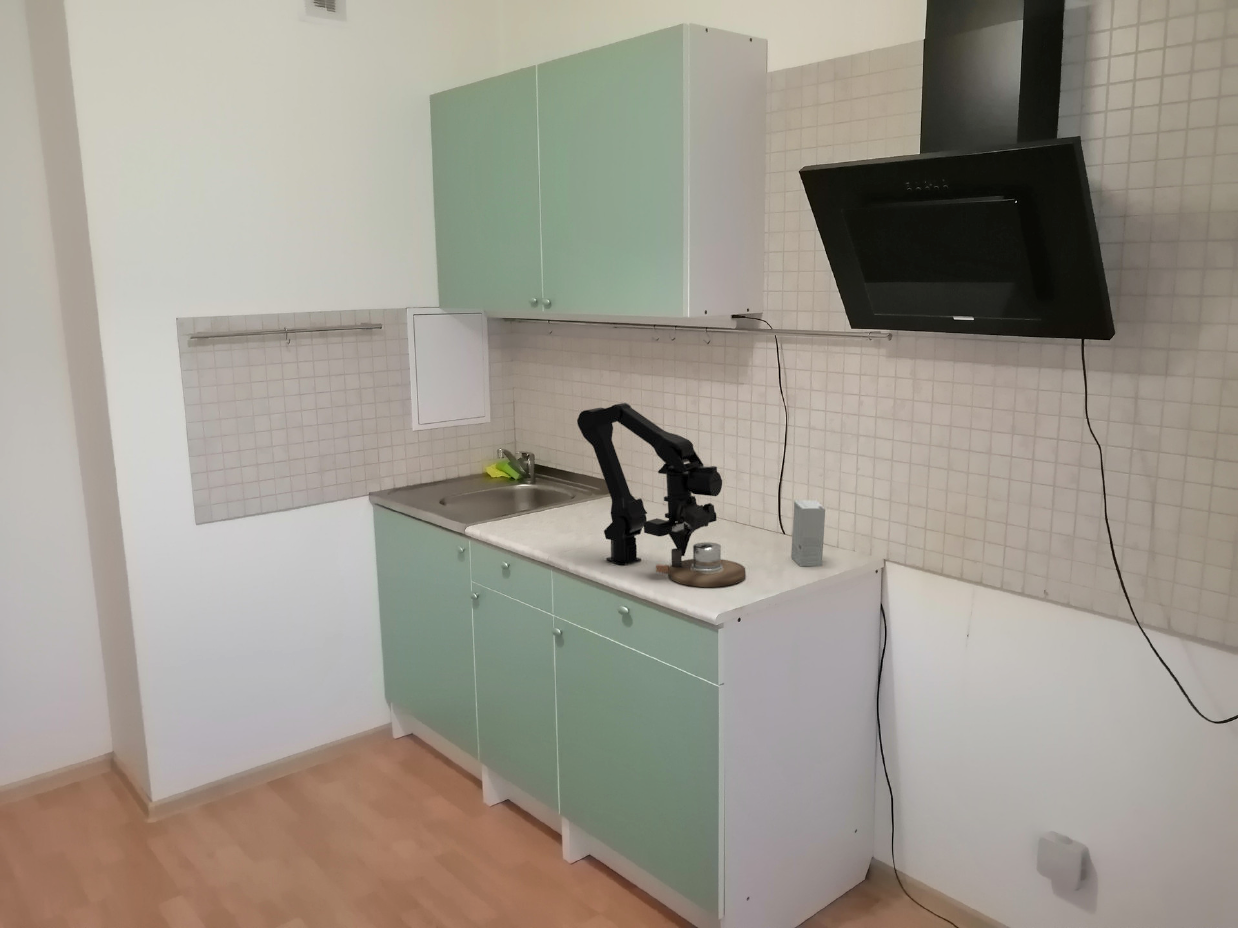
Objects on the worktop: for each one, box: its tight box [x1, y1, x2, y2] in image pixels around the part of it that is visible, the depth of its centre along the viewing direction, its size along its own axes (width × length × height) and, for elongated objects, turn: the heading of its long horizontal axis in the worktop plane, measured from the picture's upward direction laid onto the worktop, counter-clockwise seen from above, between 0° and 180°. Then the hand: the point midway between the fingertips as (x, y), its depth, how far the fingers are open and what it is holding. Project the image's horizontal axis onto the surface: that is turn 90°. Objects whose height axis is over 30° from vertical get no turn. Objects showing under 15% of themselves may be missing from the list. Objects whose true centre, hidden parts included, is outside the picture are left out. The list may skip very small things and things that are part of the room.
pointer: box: [655, 564, 671, 574], centre depth 234 cm, size 3×1×2 cm, turn 67°
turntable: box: [668, 548, 746, 588], centre depth 229 cm, size 18×18×6 cm
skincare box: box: [790, 499, 826, 567], centre depth 239 cm, size 8×6×15 cm
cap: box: [692, 541, 722, 573], centre depth 229 cm, size 7×7×6 cm
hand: (682, 555), depth 234 cm, fingers closed
